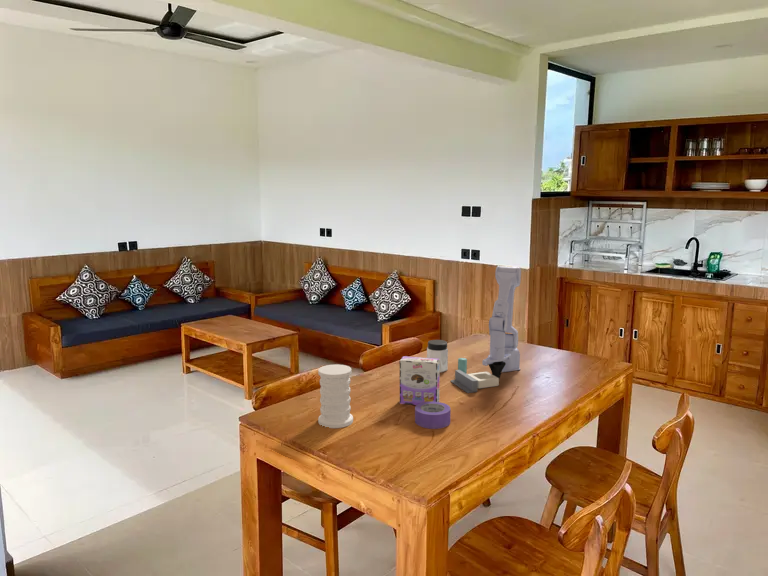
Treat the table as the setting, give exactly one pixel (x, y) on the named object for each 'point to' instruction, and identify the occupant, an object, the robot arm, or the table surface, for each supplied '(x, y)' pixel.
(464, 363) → the dowel
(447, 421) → the tape roll
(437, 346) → the jar
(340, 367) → the decorative container
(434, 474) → the table surface
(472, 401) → the table surface
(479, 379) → the block
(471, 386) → the wall
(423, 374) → the candy box
